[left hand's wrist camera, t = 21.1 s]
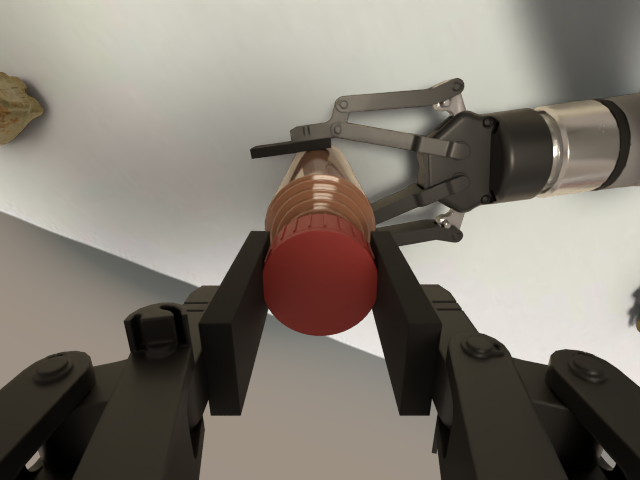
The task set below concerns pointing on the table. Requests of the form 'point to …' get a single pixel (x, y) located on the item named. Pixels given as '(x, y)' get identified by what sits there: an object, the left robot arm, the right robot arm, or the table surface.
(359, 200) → the bottle
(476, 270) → the table surface
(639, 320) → the spray gun
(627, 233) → the table surface
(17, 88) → the sculpture
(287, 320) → the cap
